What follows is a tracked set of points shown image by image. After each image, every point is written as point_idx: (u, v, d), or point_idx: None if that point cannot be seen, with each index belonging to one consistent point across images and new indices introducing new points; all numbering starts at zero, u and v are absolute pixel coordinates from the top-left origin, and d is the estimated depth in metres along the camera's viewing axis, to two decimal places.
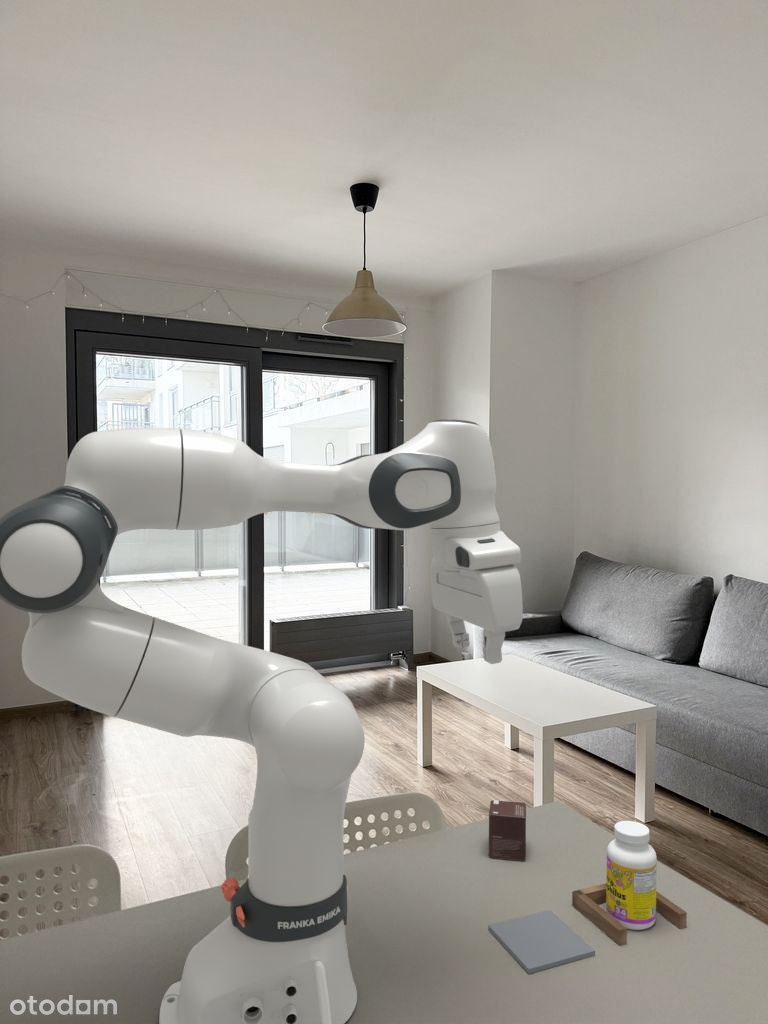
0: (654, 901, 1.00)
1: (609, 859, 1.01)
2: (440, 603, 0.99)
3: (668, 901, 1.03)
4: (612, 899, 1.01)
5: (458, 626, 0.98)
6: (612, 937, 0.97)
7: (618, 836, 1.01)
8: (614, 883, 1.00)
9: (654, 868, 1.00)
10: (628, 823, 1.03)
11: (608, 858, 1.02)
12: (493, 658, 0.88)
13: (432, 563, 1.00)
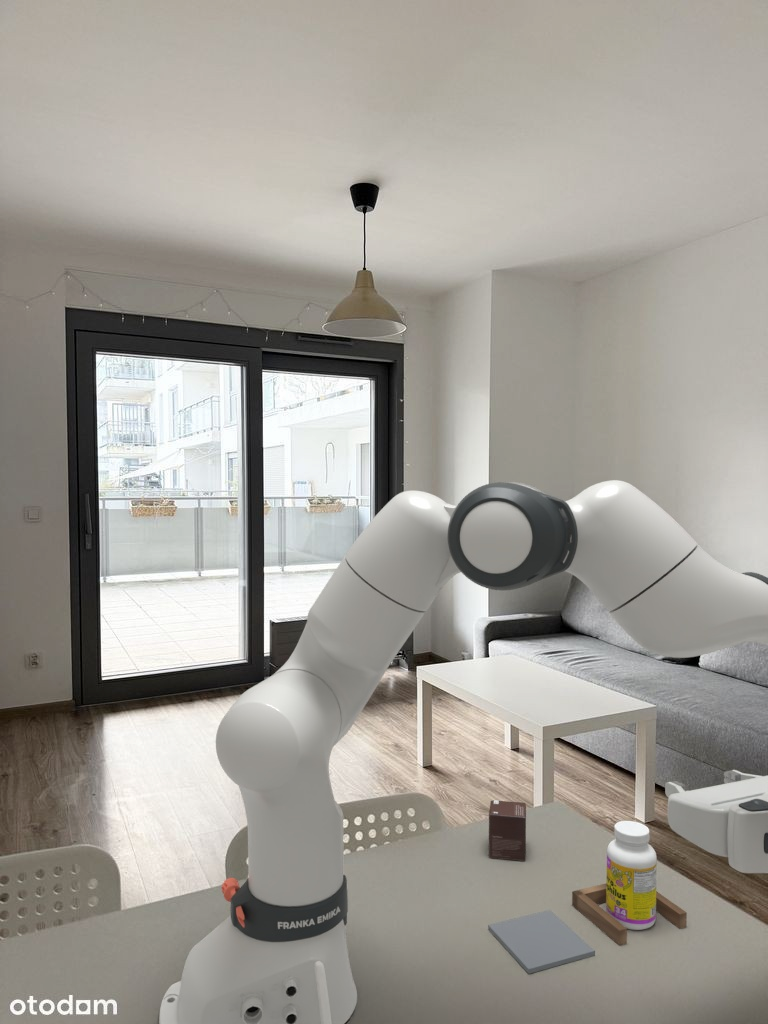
0: (654, 901, 1.00)
1: (609, 859, 1.01)
2: None
3: (668, 901, 1.03)
4: (612, 899, 1.01)
5: None
6: (612, 937, 0.97)
7: (618, 836, 1.01)
8: (614, 883, 1.00)
9: (654, 868, 1.00)
10: (628, 823, 1.03)
11: (608, 858, 1.02)
12: (669, 788, 0.88)
13: None
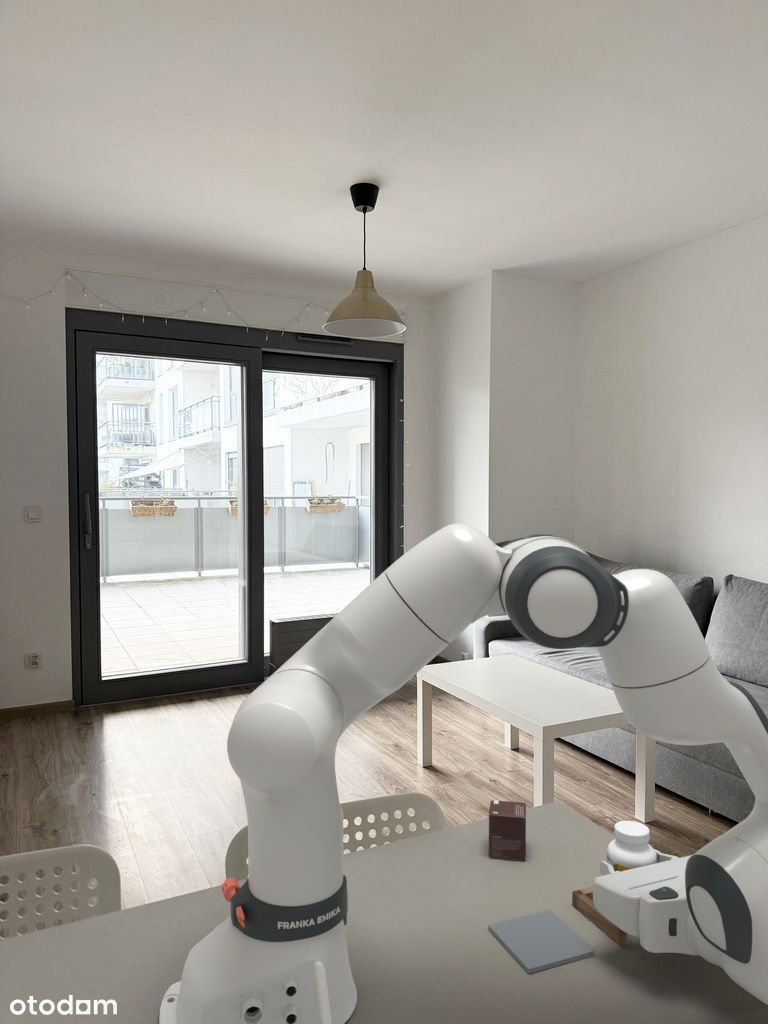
0: None
1: (610, 859, 1.01)
2: None
3: None
4: None
5: None
6: (612, 937, 0.97)
7: (618, 836, 1.01)
8: None
9: None
10: (628, 823, 1.03)
11: (608, 858, 1.02)
12: (602, 866, 1.00)
13: None
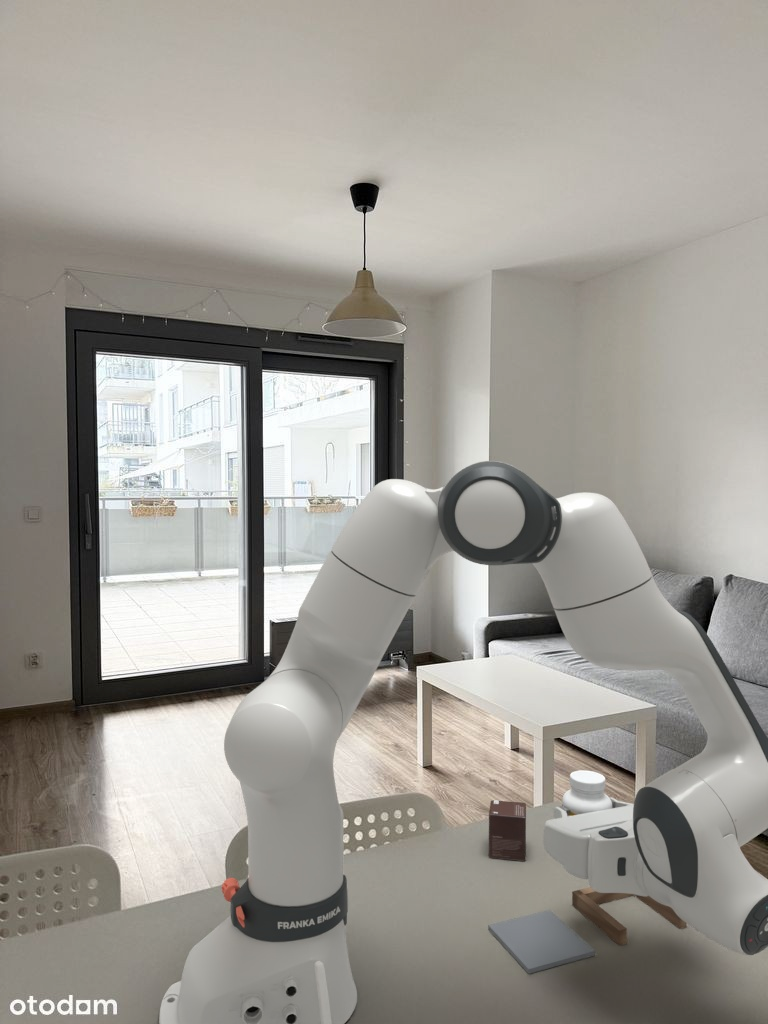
0: None
1: None
2: None
3: None
4: None
5: None
6: (612, 937, 0.97)
7: (573, 784, 0.98)
8: None
9: None
10: (584, 772, 1.01)
11: None
12: (556, 812, 0.98)
13: None
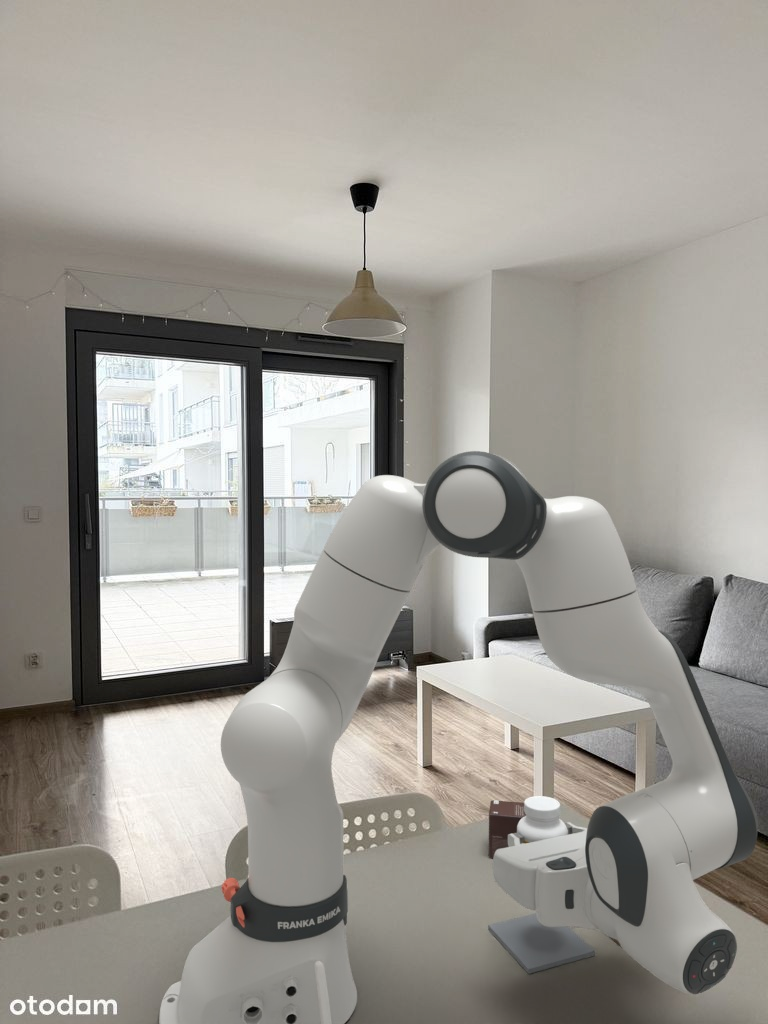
0: None
1: None
2: None
3: None
4: None
5: None
6: None
7: (527, 811, 0.95)
8: None
9: None
10: (539, 798, 0.97)
11: None
12: (510, 840, 0.95)
13: None
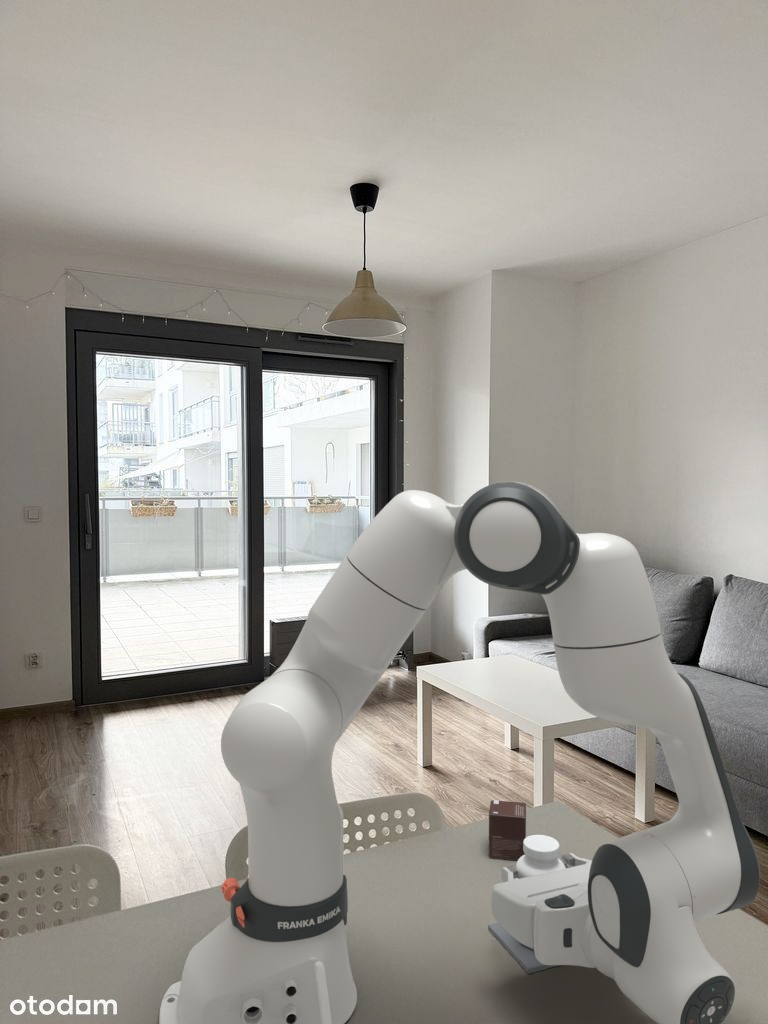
0: None
1: None
2: None
3: None
4: None
5: None
6: None
7: (526, 851, 0.95)
8: None
9: None
10: (538, 838, 0.97)
11: None
12: (503, 873, 0.95)
13: None
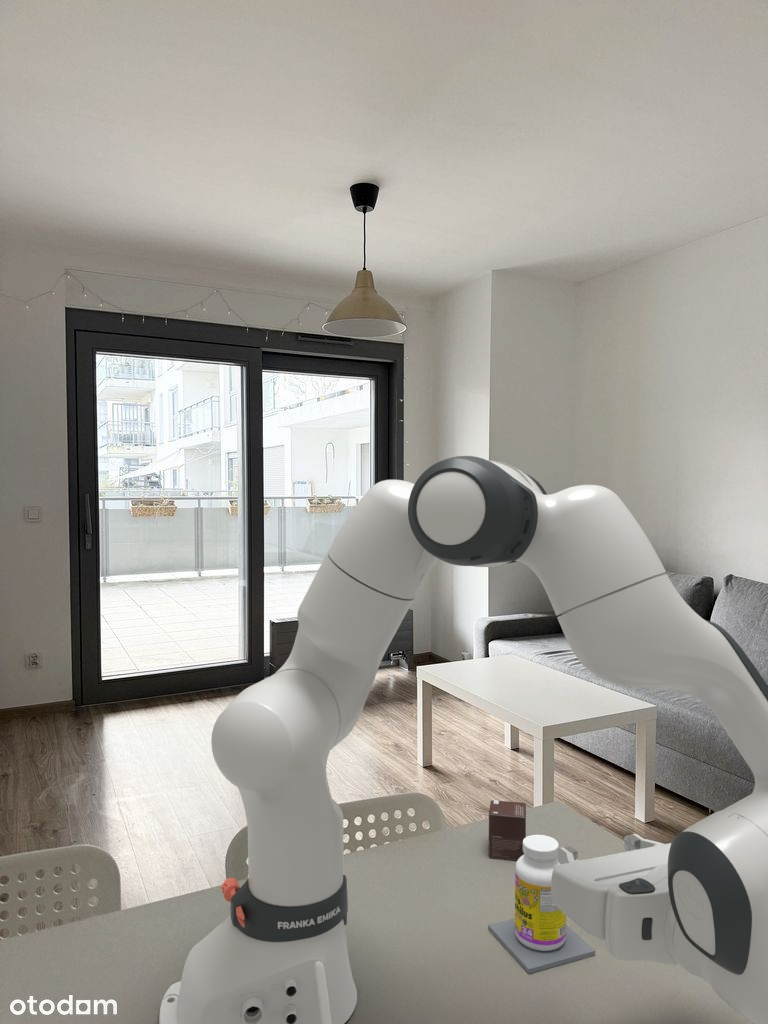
0: (563, 920, 0.94)
1: (517, 876, 0.96)
2: None
3: None
4: (519, 918, 0.95)
5: None
6: None
7: (525, 851, 0.95)
8: (520, 901, 0.95)
9: None
10: (538, 838, 0.97)
11: (516, 875, 0.96)
12: (561, 854, 0.83)
13: None
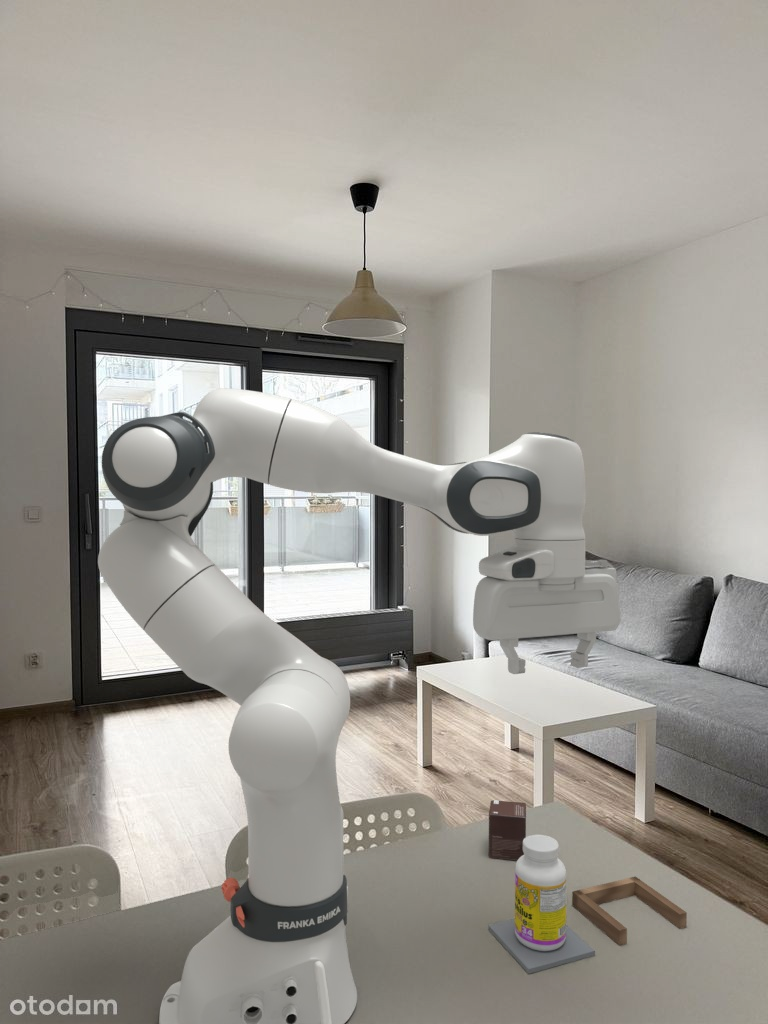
0: (563, 920, 0.94)
1: (517, 876, 0.96)
2: None
3: (668, 901, 1.03)
4: (519, 918, 0.95)
5: (583, 645, 0.95)
6: (612, 937, 0.97)
7: (525, 851, 0.95)
8: (520, 901, 0.95)
9: (562, 885, 0.94)
10: (538, 838, 0.97)
11: (516, 875, 0.96)
12: (510, 667, 0.91)
13: None
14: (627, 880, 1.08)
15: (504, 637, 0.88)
